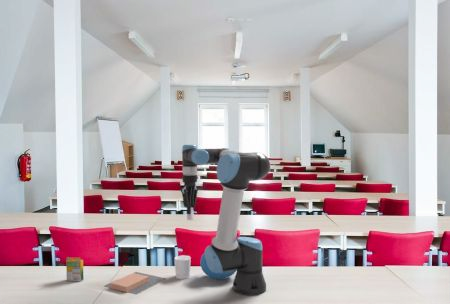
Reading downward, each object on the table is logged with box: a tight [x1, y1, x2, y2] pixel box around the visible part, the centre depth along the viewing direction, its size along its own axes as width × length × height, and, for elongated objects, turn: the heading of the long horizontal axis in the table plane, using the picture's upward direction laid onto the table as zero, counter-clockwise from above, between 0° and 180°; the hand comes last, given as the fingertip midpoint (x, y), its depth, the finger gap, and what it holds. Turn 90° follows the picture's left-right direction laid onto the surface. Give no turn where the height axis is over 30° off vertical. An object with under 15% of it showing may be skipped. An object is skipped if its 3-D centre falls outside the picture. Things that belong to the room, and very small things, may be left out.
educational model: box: [199, 252, 237, 280], centre depth 195 cm, size 16×19×15 cm
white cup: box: [174, 254, 192, 280], centre depth 195 cm, size 8×8×10 cm
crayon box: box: [65, 256, 84, 282], centre depth 193 cm, size 7×3×12 cm, turn 84°
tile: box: [109, 272, 149, 293], centre depth 185 cm, size 10×2×15 cm
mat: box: [104, 271, 168, 295], centre depth 188 cm, size 20×22×1 cm
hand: (190, 219), depth 206 cm, fingers closed
